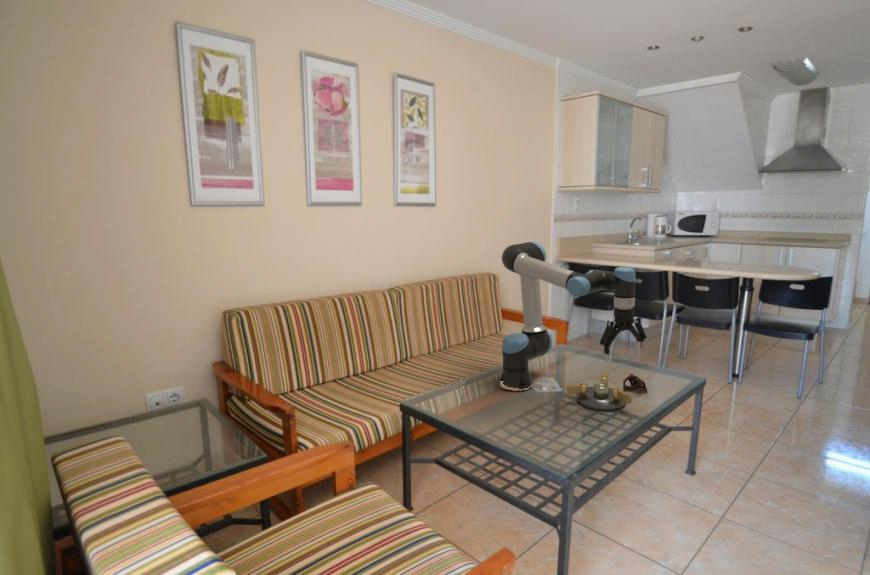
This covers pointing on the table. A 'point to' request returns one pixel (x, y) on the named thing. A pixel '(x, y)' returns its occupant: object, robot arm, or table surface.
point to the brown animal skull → (634, 384)
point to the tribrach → (599, 399)
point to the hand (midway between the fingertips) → (622, 359)
